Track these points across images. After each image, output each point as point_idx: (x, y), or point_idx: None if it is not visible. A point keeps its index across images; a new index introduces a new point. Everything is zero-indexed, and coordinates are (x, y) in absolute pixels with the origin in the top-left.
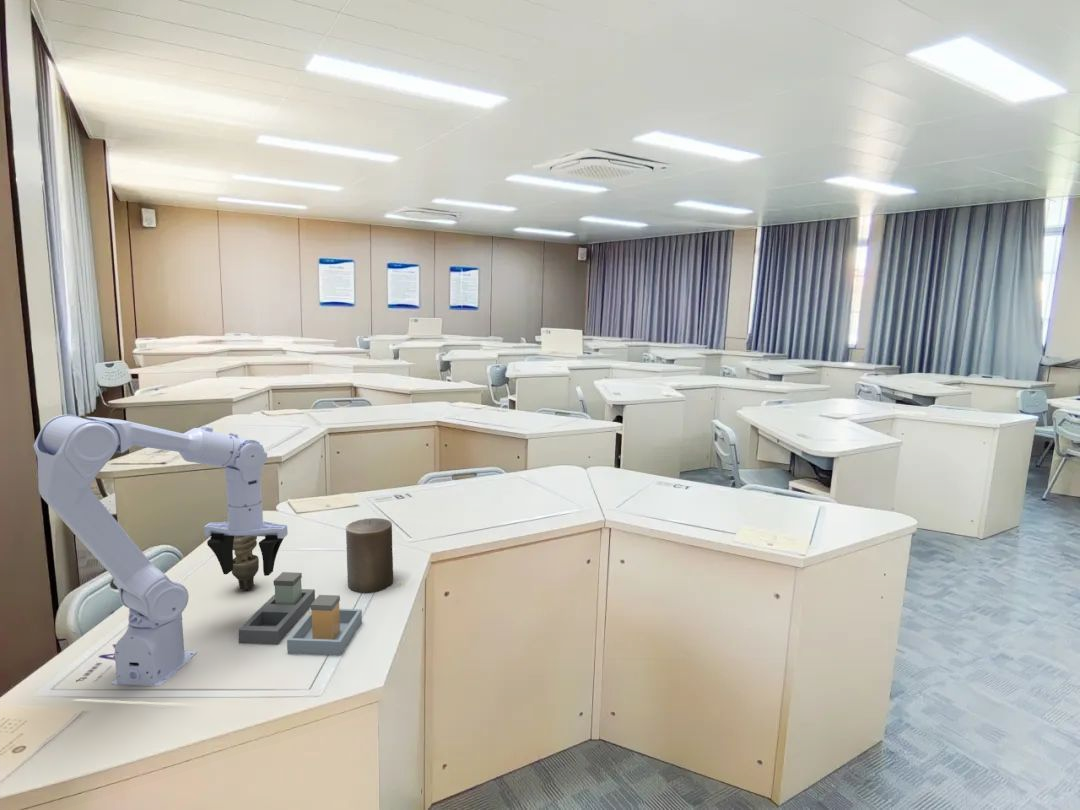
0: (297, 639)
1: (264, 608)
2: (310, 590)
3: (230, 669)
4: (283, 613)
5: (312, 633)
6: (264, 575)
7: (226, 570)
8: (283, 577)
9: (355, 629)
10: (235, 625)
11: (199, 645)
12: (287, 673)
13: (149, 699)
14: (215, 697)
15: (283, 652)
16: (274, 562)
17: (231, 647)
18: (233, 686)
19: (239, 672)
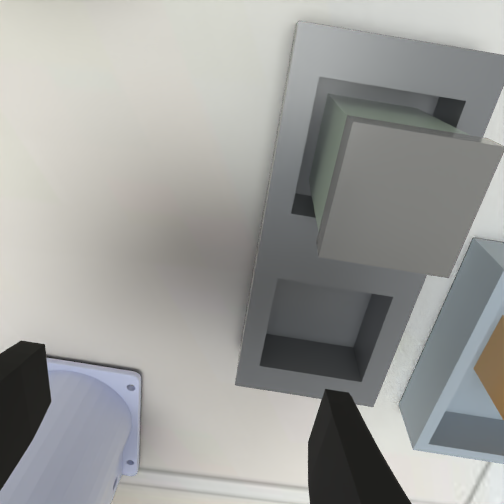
0: (446, 452)
1: (278, 253)
2: (489, 71)
3: (261, 432)
4: (369, 290)
5: (485, 388)
6: (309, 444)
7: (36, 428)
8: (376, 219)
9: None
10: (171, 226)
11: (119, 329)
12: (408, 460)
13: (138, 489)
14: (268, 501)
15: (383, 387)
16: (376, 444)
17: (221, 349)
18: (293, 480)
19: (288, 444)
